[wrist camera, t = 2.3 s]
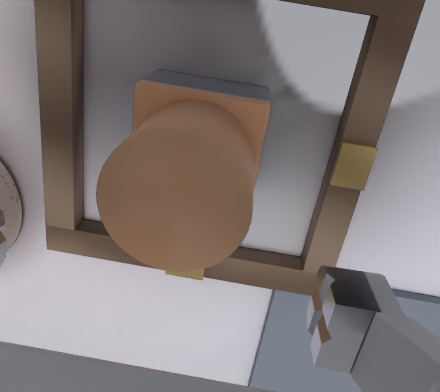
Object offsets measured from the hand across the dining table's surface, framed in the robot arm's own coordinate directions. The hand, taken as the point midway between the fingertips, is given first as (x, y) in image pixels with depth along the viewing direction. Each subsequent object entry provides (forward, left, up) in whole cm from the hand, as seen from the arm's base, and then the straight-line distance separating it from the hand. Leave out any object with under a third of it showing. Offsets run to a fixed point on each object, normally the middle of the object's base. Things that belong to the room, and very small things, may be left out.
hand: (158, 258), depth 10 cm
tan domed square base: (-1, 0, -7) cm, 7 cm away
